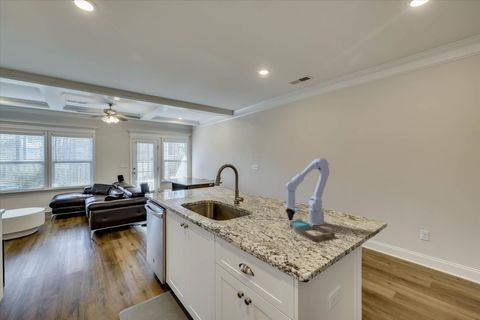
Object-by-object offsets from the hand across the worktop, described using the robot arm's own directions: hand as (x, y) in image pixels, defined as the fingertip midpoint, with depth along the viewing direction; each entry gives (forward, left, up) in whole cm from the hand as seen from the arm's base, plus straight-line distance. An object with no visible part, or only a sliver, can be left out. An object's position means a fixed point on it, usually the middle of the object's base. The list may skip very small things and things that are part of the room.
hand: (290, 220), depth 138 cm
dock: (0, +21, -2) cm, 21 cm away
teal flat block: (0, +9, -2) cm, 10 cm away
